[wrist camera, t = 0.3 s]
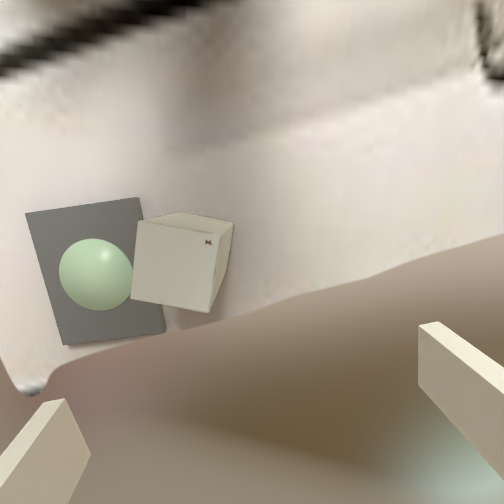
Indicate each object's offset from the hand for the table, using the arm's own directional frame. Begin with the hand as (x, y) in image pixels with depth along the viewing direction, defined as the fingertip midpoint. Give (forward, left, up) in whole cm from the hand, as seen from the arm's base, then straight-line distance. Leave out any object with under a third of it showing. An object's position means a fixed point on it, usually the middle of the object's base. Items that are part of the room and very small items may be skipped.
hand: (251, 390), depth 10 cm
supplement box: (-2, -7, -26) cm, 27 cm away
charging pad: (0, -21, -26) cm, 33 cm away
